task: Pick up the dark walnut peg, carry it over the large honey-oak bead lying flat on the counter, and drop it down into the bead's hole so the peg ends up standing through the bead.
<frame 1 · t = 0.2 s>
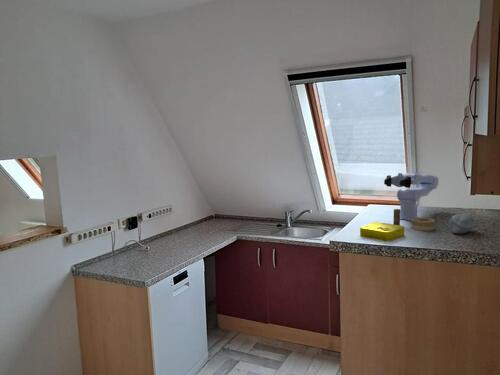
hand: (392, 182, 200), 21 cm above the counter, fingers open, 7 cm apart
bead: (423, 228, 195), on the counter
peg: (396, 225, 202), on the counter
element tile: (382, 236, 184), on the counter
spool: (461, 232, 187), on the counter
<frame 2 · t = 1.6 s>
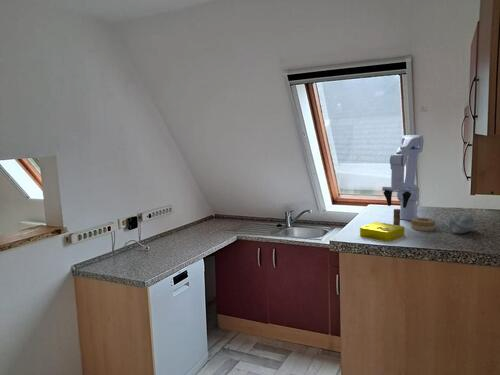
hand: (397, 206, 201), 9 cm above the counter, fingers open, 7 cm apart
nothing on the counter moved.
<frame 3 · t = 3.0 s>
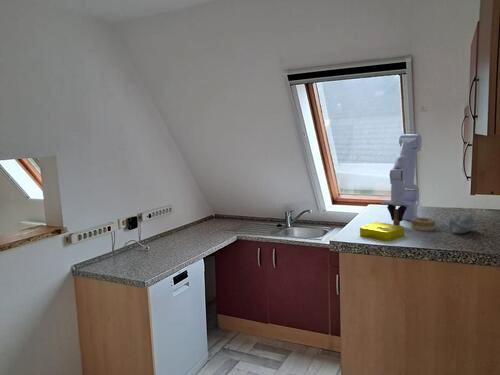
hand: (396, 220, 202), 2 cm above the counter, fingers closed on peg, 3 cm apart
peg: (396, 225, 202), on the counter, touching gripper
everything else where it was.
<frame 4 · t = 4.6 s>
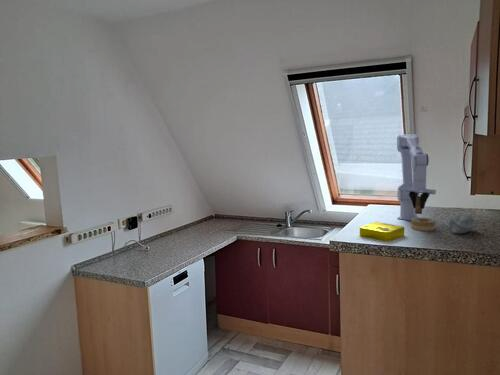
hand: (418, 208, 195), 9 cm above the counter, fingers closed on peg, 3 cm apart
peg: (418, 213, 196), point 7 cm above the counter, touching gripper
everything else where it was.
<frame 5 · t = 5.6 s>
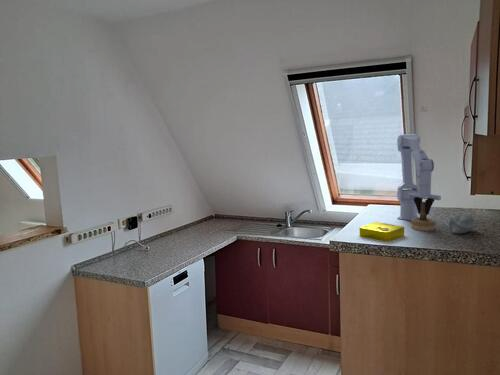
hand: (423, 213, 194), 7 cm above the counter, fingers closed on peg, 3 cm apart
peg: (423, 219, 195), point 4 cm above the counter, touching gripper
everything else where it was.
when the fingers open (5 cm above the counter, at t = 6.2 s): peg drops 2 cm, resting in bead.
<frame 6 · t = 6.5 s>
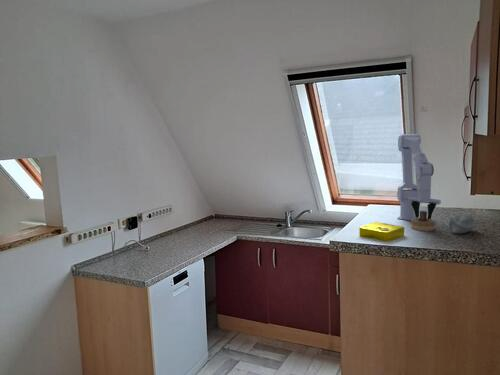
hand: (423, 217, 195), 5 cm above the counter, fingers open, 5 cm apart
peg: (422, 228, 195), resting in bead
everything else where it was.
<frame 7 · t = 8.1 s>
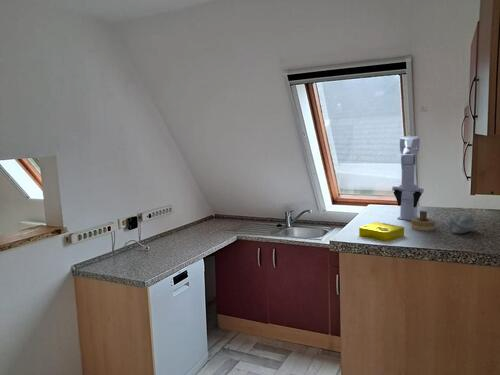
hand: (407, 206, 201), 9 cm above the counter, fingers open, 7 cm apart
nothing on the counter moved.
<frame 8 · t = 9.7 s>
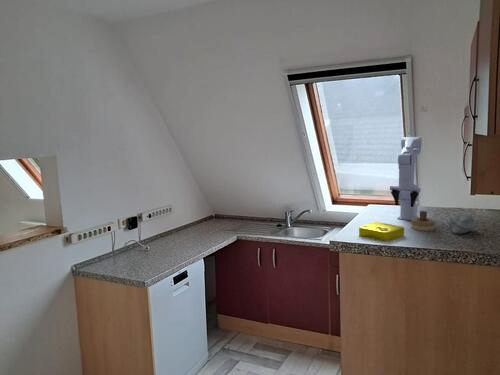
hand: (404, 205, 202), 9 cm above the counter, fingers open, 7 cm apart
nothing on the counter moved.
at the end: peg 0.1 cm from the bead (horizontally); peg resting in bead; peg tilted 0° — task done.
